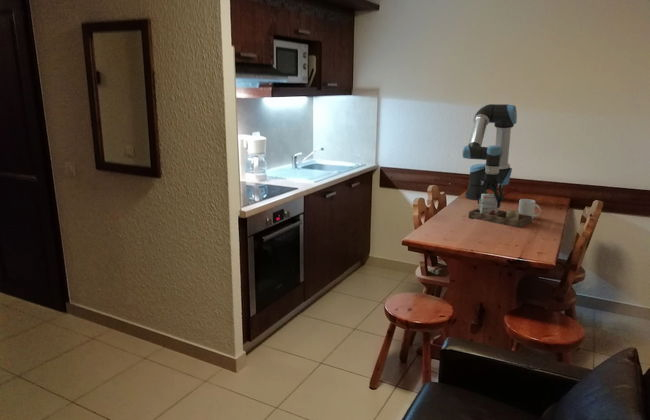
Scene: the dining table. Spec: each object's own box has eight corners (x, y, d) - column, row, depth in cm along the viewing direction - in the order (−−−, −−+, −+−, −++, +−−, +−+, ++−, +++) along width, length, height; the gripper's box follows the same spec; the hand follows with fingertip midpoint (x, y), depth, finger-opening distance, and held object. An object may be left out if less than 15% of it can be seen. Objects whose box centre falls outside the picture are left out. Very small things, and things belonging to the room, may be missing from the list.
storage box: (468, 217, 279) (469, 211, 278) (481, 213, 290) (482, 206, 289) (519, 228, 259) (520, 221, 258) (531, 223, 270) (532, 216, 269)
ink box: (494, 213, 281) (496, 193, 278) (496, 215, 276) (498, 195, 273) (479, 212, 282) (481, 192, 279) (481, 214, 277) (482, 194, 274)
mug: (537, 222, 272) (539, 203, 269) (515, 218, 279) (517, 200, 276) (541, 219, 279) (543, 201, 276) (519, 215, 285) (521, 198, 283)
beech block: (505, 222, 268) (506, 212, 267) (507, 220, 273) (508, 209, 272) (516, 224, 265) (517, 213, 264) (518, 221, 270) (519, 211, 269)
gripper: (470, 171, 278) (467, 208, 283) (507, 176, 263) (503, 216, 268) (477, 169, 283) (473, 206, 288) (513, 174, 268) (509, 213, 273)
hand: (488, 211), depth 278 cm, fingers closed on ink box, 9 cm apart
